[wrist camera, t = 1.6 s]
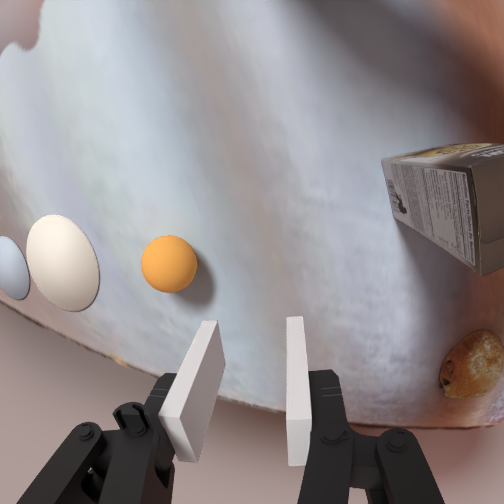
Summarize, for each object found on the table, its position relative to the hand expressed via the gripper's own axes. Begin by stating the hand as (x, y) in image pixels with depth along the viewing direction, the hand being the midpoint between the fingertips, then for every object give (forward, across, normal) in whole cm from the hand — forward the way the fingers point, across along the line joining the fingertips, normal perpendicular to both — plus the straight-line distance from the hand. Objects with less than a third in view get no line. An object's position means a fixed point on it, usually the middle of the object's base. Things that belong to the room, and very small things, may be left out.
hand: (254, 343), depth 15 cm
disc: (+17, -26, 0) cm, 31 cm away
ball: (+14, -10, 0) cm, 17 cm away
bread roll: (+17, +26, -18) cm, 36 cm away
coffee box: (+17, +16, +6) cm, 24 cm away
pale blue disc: (+17, -38, 0) cm, 42 cm away
